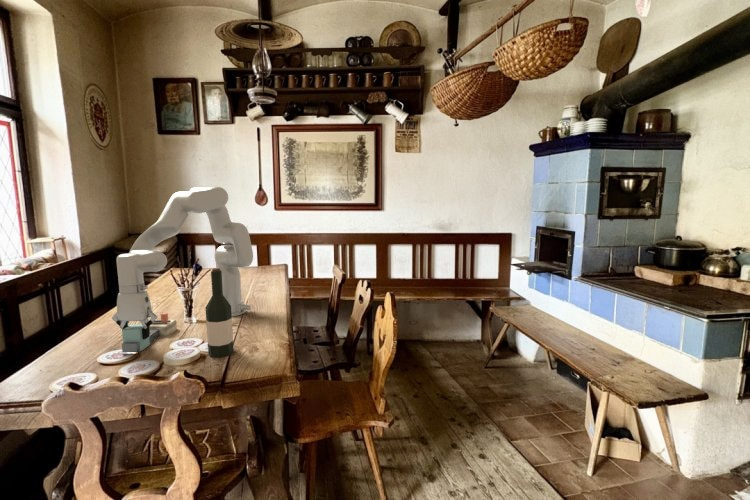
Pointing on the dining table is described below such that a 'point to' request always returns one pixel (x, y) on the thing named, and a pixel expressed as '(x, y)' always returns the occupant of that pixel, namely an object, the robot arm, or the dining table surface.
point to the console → (164, 327)
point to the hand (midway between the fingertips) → (136, 337)
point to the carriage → (135, 336)
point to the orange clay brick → (164, 317)
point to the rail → (134, 345)
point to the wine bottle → (219, 319)
